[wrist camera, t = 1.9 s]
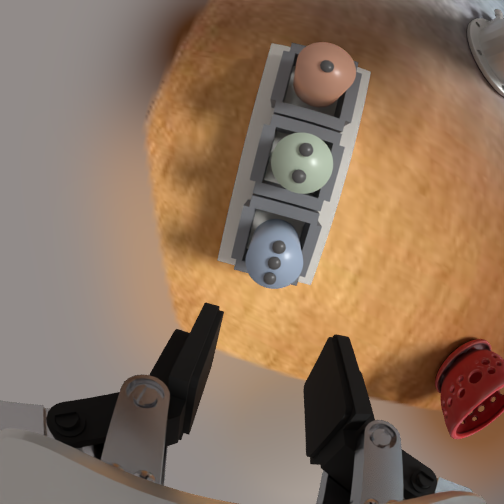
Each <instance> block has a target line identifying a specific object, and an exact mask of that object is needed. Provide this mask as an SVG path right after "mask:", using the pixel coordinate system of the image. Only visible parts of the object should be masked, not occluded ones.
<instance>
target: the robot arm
mask: <svg viewBox="0 0 504 504" xmlns="http://www.w3.org/2000/svg"><path fill="white" fill-rule="evenodd" d="M494 11H495V16H496V18H495V19H493V20H491V21H488V20H486V19H483V18H477V19H474V20H473V21H471V22H470V23H469V25H468V28H467V37H468V42H469V46H470V49H471V52H472V54H473V56H474V59H475V61H476V63H477V64H478V66H479V68H480V70H481V71H482V73H483V75H484V76H485V77H486V79H487V80H488V82H489V83H490V84H491V85H492V86H493V88H494V89H495V90H496V91H497V92H498V93H500V94H501V95H502V96H504V18H503V14H502V12H501V11H500V10H498V9H495V10H494ZM223 314H224V312H223V311H220V310H219V306H216V305H212V304H209V303H205V304H204V306H203V308H202V310H201V312H200V314H199V316H198V318H197V320H196V322H195V324H194V326H193V328H192V330H191V332H190V333H188V332H185V331H182V330H178V329H176V330H175V331H174V333H173V334H172V336H171V338H170V340H169V341H168V343H167V345H166V347H165V348H164V350H163V352H162V353H161V355H160V357H159V359H158V361H157V363H156V364H155V366H154V368H153V369H152V371H151V373H150V375H135V376H132V377H130V378H128V379H127V380H126V381H124V383H123V385H122V387H121V389H120V392H118V393H113V394H108V395H103V396H97V397H93V398H87V399H80V400H74V401H68V402H62V403H59V404H56V405H54V406H53V407H51V409H48V408H44V406H43V405H33V404H23V403H14V402H6V401H0V504H237V503H231V502H225V501H220V500H215V499H211V498H206V497H202V496H198V495H194V494H190V493H186V492H183V491H179V490H176V489H173V488H169V487H166V486H164V480H165V469H166V458H167V448H168V446H169V445H172V444H175V443H178V440H181V439H182V436H183V433H186V434H189V433H190V431H191V427H192V424H193V421H194V418H195V415H196V412H197V409H198V406H199V403H200V400H201V397H202V394H203V391H204V388H205V384H206V381H207V378H208V375H209V372H210V369H211V366H212V362H213V358H214V353H215V349H216V344H217V340H218V335H219V331H220V327H221V322H222V318H223ZM304 408H305V432H306V455H307V457H310V464H317V465H318V464H320V465H321V468H322V469H323V473H322V478H321V483H320V488H319V494H318V498H317V503H316V504H487V503H486V501H485V500H484V499H483V498H482V497H481V496H480V495H478V494H475V493H473V492H472V490H471V489H469V488H467V487H464V486H461V485H459V484H456V483H453V482H450V481H448V480H445V479H442V478H440V477H439V478H436V475H435V474H434V472H433V471H432V470H431V469H430V468H428V467H427V466H425V465H424V464H422V463H421V462H419V461H418V460H416V459H415V458H414V457H412V456H411V455H409V454H408V453H406V452H405V451H404V450H402V449H401V438H400V434H399V432H398V430H397V429H396V428H395V427H394V426H393V425H392V424H390V423H389V422H386V421H383V420H375V419H374V415H373V411H372V407H371V404H370V400H369V397H368V393H367V390H366V386H365V383H364V379H363V376H362V373H361V372H360V371H359V367H358V364H357V361H356V357H355V354H354V351H353V348H352V345H351V342H350V339H349V337H346V336H341V335H334V336H333V337H329V338H328V340H327V342H326V344H325V346H324V348H323V350H322V352H321V354H320V356H319V358H318V360H317V361H316V363H315V365H314V367H313V369H312V371H311V373H310V375H309V377H308V378H307V380H306V382H305V385H304Z"/></svg>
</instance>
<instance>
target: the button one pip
mask: <svg viewBox="0 0 504 504" xmlns="http://www.w3.org/2000/svg"><path fill="white" fill-rule="evenodd" d="M355 77H356V67H355V64H354V61H353V59H352V58H351V56H350V55H349V54H348V53H347V52H346V51H345V50H344V49H342V48H341V47H339V46H337V45H334V44H331V43H327V42H317V43H313V44H310V45H308V46H306V47H305V48H304V49H302V51H301V52H300V53H299V55H298V58H297V62H296V68H295V74H294V80H293V87H294V91H295V93H296V95H297V96H298V97H299V99H300V100H302V101H303V102H304V103H306V104H308V105H310V106H313V107H326V106H329V105H331V104H333V103H334V102H335V101H336V100H337V99H338V98H339V97H340V96H341V95H342V94H343V93H344V92H345V91H346V90H347V89H348V88H349V87H350V86H351V85H352V84H353V82H354V80H355Z"/></svg>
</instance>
